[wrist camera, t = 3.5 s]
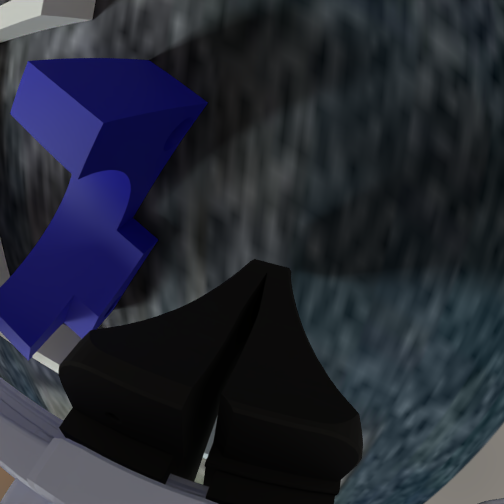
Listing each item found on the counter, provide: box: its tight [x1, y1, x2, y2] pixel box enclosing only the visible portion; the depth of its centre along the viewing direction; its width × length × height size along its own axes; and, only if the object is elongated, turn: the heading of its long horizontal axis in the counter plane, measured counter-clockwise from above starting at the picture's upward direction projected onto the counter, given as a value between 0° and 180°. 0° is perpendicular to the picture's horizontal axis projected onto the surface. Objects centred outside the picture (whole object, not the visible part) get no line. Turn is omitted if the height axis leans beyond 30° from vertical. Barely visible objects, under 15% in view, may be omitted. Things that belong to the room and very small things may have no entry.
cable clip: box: [0, 58, 208, 360], centre depth 11 cm, size 12×4×6 cm, turn 141°
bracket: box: [0, 0, 96, 373], centre depth 13 cm, size 10×20×3 cm, turn 171°
